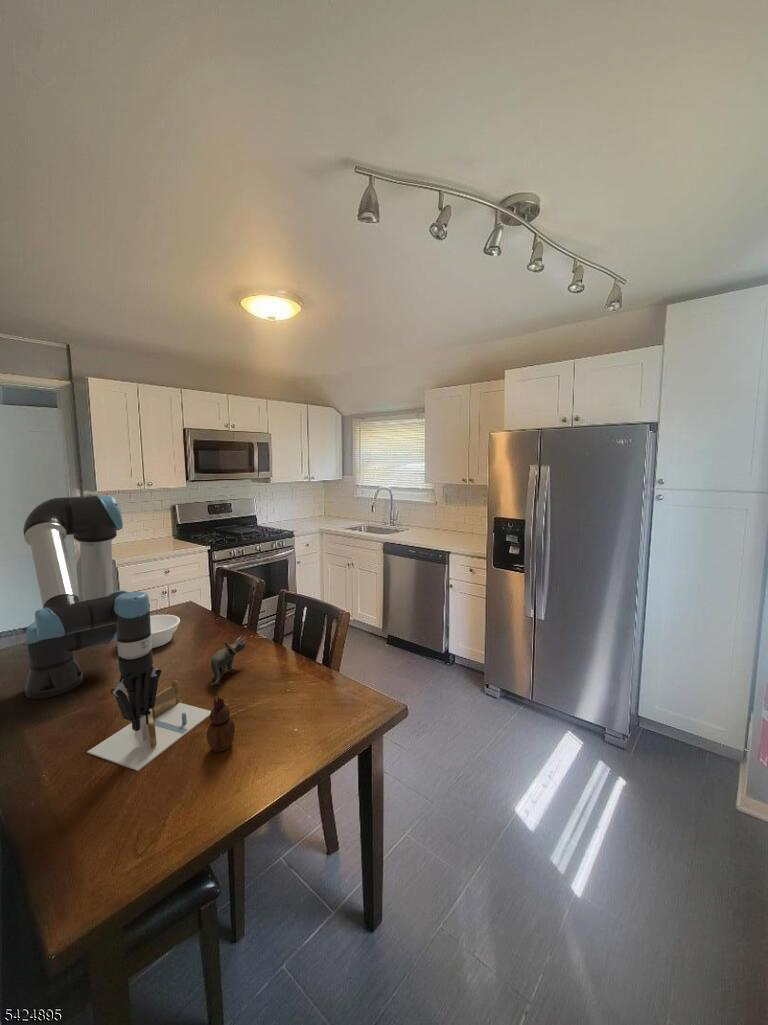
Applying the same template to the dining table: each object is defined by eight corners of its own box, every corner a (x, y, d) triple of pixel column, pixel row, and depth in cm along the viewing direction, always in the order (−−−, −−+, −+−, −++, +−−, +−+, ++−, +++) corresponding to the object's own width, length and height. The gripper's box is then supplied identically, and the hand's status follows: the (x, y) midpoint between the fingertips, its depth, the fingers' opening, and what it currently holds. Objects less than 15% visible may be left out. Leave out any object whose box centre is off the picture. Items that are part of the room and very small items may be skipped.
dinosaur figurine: (213, 696, 134) (211, 663, 132) (190, 693, 135) (188, 661, 134) (249, 663, 155) (247, 634, 153) (228, 661, 157) (226, 632, 155)
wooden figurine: (217, 759, 106) (214, 703, 104) (203, 750, 109) (200, 697, 107) (239, 743, 112) (237, 691, 110) (225, 736, 115) (222, 684, 113)
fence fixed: (144, 723, 120) (142, 698, 119) (176, 702, 131) (175, 679, 130) (149, 724, 120) (147, 700, 119) (180, 703, 130) (178, 680, 129)
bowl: (164, 655, 162) (163, 634, 161) (110, 654, 162) (109, 634, 161) (190, 632, 183) (189, 614, 182) (142, 632, 183) (141, 614, 182)
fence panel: (146, 722, 119) (145, 703, 118) (152, 721, 120) (150, 701, 119) (150, 748, 109) (149, 726, 108) (156, 746, 109) (155, 725, 109)
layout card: (87, 753, 108) (86, 740, 108) (167, 700, 131) (167, 690, 131) (138, 771, 102) (137, 758, 101) (213, 712, 125) (212, 702, 125)
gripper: (122, 666, 100) (128, 758, 103) (167, 645, 112) (172, 728, 115) (100, 661, 103) (107, 750, 106) (147, 641, 115) (152, 722, 117)
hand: (141, 739), depth 110 cm, fingers closed
